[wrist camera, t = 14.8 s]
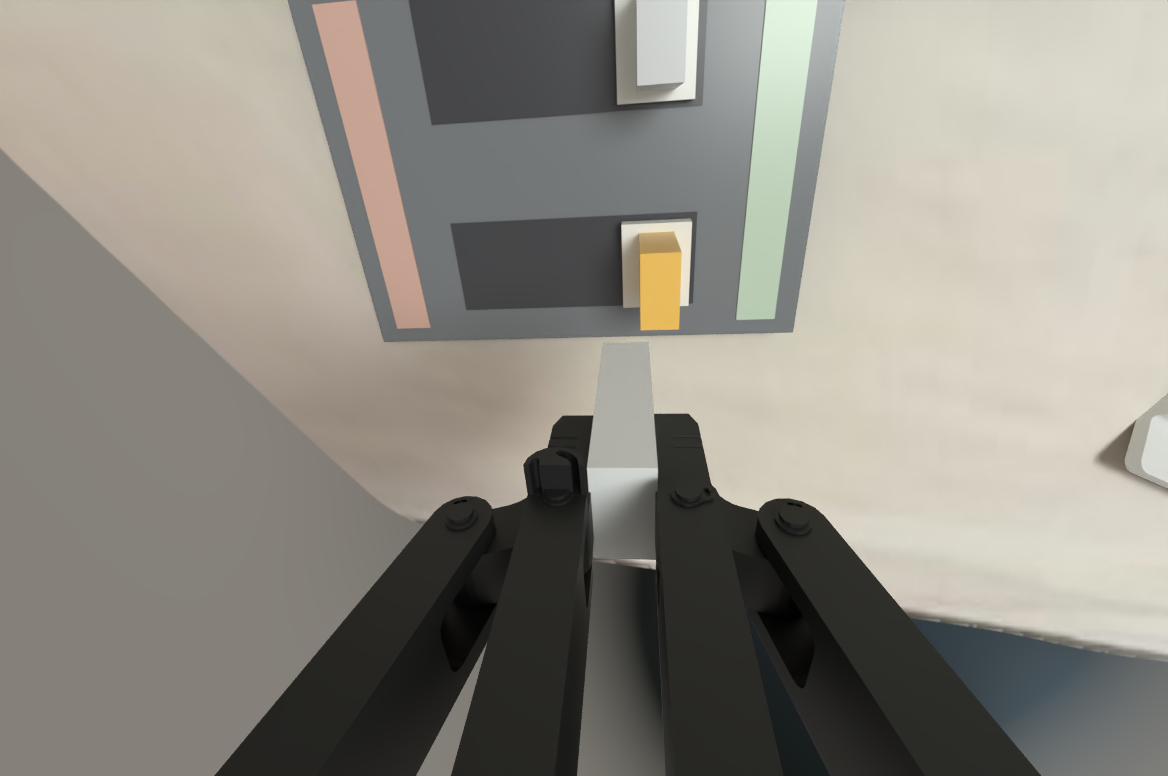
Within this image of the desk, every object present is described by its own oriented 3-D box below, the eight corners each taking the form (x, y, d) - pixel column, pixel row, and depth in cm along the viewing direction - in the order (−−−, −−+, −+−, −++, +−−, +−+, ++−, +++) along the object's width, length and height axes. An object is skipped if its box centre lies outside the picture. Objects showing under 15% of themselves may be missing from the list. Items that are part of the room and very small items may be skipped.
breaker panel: (310, -6, 27) (189, -54, 20) (836, -62, 24) (928, -143, 17) (398, 328, 37) (339, 381, 29) (782, 318, 34) (824, 374, 26)
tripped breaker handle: (621, 221, 29) (619, 244, 23) (690, 218, 28) (703, 240, 23) (623, 302, 31) (621, 339, 26) (686, 300, 31) (698, 337, 25)
